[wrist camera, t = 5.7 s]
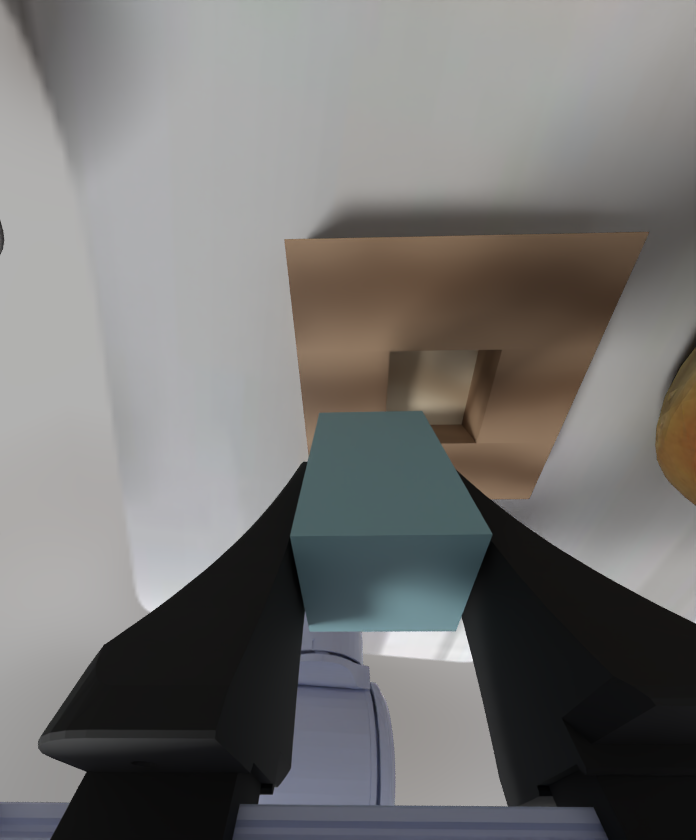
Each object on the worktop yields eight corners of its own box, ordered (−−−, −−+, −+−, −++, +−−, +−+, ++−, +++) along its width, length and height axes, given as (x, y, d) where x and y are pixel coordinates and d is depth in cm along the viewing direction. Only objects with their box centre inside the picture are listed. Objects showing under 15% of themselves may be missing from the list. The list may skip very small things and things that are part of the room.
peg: (411, 488, 13) (455, 630, 8) (326, 489, 13) (309, 631, 8) (422, 410, 11) (492, 534, 5) (319, 412, 11) (289, 536, 5)
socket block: (506, 472, 21) (529, 498, 19) (318, 473, 21) (313, 500, 19) (591, 242, 14) (649, 231, 11) (296, 248, 14) (284, 239, 11)
